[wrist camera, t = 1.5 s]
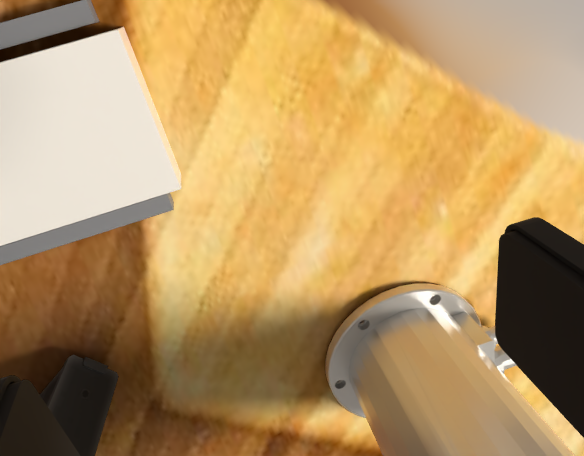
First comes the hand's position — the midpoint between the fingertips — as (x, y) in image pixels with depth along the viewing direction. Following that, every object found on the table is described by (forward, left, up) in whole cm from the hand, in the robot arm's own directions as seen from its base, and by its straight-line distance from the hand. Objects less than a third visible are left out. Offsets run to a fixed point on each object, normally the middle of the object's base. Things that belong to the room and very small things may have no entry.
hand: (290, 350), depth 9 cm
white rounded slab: (+8, -2, -19) cm, 21 cm away
